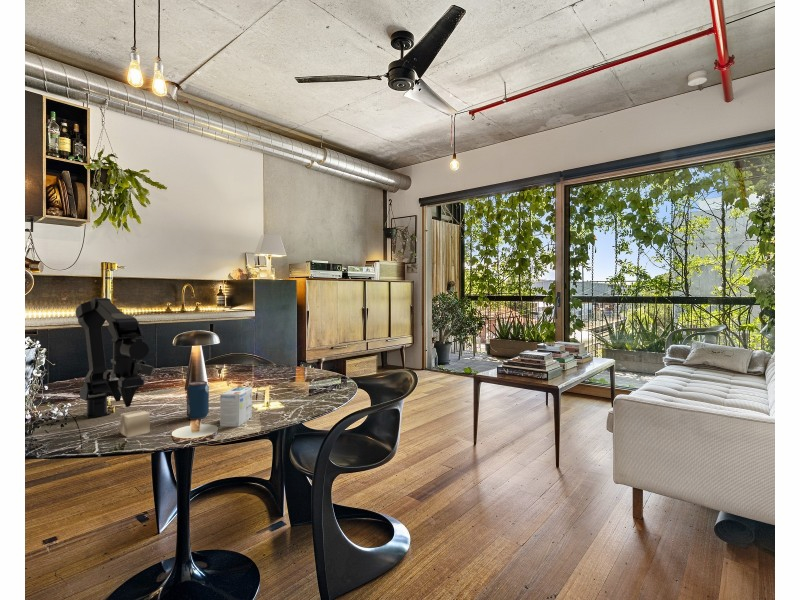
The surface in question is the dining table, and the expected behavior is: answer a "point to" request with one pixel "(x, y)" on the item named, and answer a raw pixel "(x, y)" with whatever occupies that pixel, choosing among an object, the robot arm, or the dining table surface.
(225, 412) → the light bulb box
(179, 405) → the dining table surface
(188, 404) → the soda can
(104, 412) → the robot arm
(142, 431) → the maple block
